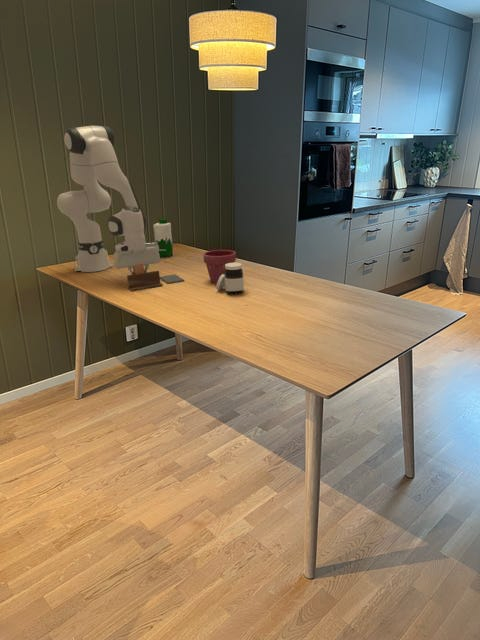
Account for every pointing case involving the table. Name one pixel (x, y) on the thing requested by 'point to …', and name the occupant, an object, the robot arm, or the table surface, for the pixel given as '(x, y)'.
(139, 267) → the terracotta block
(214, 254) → the plant pot
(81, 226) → the robot arm
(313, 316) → the table surface
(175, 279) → the charcoal mat
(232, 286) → the spread jar
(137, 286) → the brown wooden stand
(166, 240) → the milk carton
